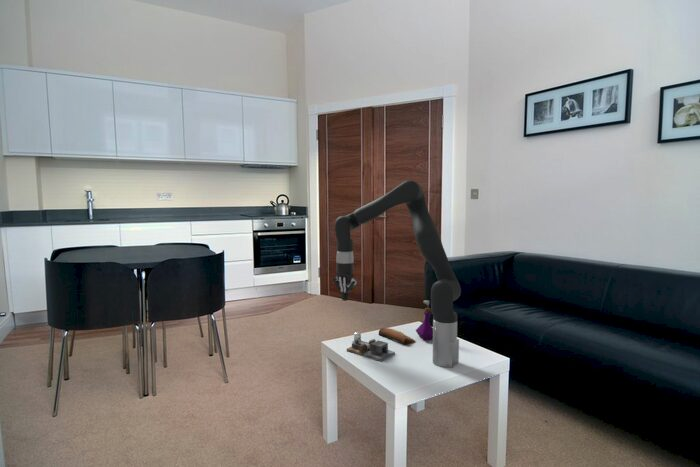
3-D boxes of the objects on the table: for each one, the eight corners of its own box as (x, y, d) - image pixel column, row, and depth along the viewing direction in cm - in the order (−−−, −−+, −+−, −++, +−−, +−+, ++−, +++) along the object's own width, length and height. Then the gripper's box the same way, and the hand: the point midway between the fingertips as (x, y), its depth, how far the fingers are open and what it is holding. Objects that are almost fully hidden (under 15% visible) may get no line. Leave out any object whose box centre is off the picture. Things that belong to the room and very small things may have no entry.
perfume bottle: (437, 340, 180) (437, 302, 179) (422, 342, 178) (422, 303, 177) (429, 335, 188) (430, 298, 186) (415, 336, 186) (415, 299, 184)
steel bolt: (370, 348, 168) (370, 334, 167) (366, 350, 166) (366, 336, 165) (356, 343, 173) (356, 330, 172) (351, 345, 171) (351, 332, 170)
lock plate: (394, 354, 164) (395, 342, 164) (381, 361, 157) (381, 349, 156) (360, 344, 176) (360, 333, 175) (346, 351, 168) (346, 339, 168)
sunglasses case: (418, 341, 179) (412, 330, 176) (408, 352, 176) (402, 341, 173) (391, 331, 193) (386, 321, 191) (382, 341, 190) (376, 331, 188)
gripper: (362, 261, 171) (362, 301, 172) (339, 259, 179) (339, 296, 181) (351, 263, 165) (351, 304, 166) (328, 261, 173) (328, 299, 175)
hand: (345, 300), depth 174 cm, fingers closed
